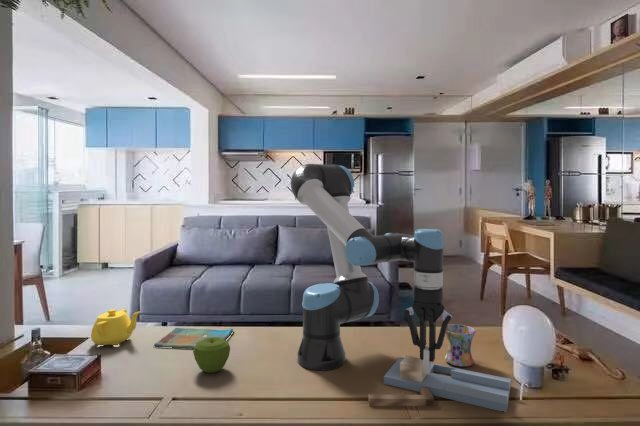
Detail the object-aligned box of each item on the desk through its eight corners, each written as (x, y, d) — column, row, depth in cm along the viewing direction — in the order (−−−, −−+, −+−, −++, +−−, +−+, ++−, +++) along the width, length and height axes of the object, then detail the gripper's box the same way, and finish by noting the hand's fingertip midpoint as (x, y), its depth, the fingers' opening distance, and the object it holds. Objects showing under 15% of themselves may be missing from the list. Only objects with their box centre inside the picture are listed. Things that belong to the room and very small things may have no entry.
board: (383, 383, 112) (383, 369, 111) (400, 363, 125) (400, 350, 125) (506, 412, 97) (507, 396, 97) (510, 386, 110) (511, 371, 110)
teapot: (99, 354, 132) (97, 319, 131) (85, 343, 142) (84, 310, 141) (142, 343, 142) (141, 310, 141) (126, 333, 152) (125, 302, 151)
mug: (477, 370, 120) (478, 335, 119) (445, 367, 122) (445, 333, 121) (470, 354, 132) (471, 322, 131) (440, 352, 133) (441, 320, 133)
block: (399, 377, 111) (399, 363, 111) (406, 368, 116) (406, 355, 116) (421, 382, 108) (421, 367, 108) (427, 373, 113) (427, 359, 113)
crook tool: (369, 406, 100) (369, 398, 100) (366, 394, 106) (366, 386, 106) (433, 406, 100) (434, 399, 100) (427, 394, 106) (428, 387, 106)
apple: (186, 371, 120) (186, 338, 119) (217, 360, 127) (216, 329, 127) (206, 382, 112) (205, 347, 112) (237, 370, 120) (237, 337, 120)
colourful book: (219, 352, 135) (219, 344, 135) (152, 349, 137) (152, 342, 137) (235, 334, 152) (234, 327, 152) (175, 332, 155) (175, 325, 154)
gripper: (400, 286, 109) (399, 372, 110) (450, 292, 103) (449, 382, 104) (408, 281, 115) (407, 362, 117) (455, 286, 109) (454, 371, 110)
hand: (427, 371), depth 110 cm, fingers closed
